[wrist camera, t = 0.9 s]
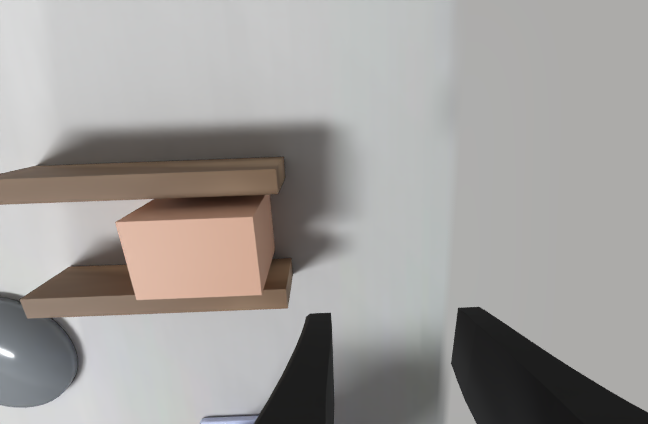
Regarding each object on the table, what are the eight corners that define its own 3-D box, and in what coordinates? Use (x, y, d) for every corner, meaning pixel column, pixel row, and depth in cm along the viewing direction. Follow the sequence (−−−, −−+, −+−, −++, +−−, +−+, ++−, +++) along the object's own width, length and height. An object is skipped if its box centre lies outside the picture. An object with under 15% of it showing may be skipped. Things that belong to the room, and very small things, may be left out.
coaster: (92, 397, 23) (87, 405, 23) (-29, 402, 23) (-38, 410, 23) (54, 293, 20) (47, 299, 20) (-85, 299, 20) (-96, 304, 20)
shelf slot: (292, 274, 20) (287, 308, 17) (74, 283, 20) (27, 318, 17) (283, 156, 18) (276, 169, 14) (35, 166, 18) (-30, 180, 14)
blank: (275, 249, 20) (261, 295, 15) (179, 252, 20) (136, 300, 15) (269, 187, 19) (252, 216, 14) (167, 191, 18) (115, 222, 14)
